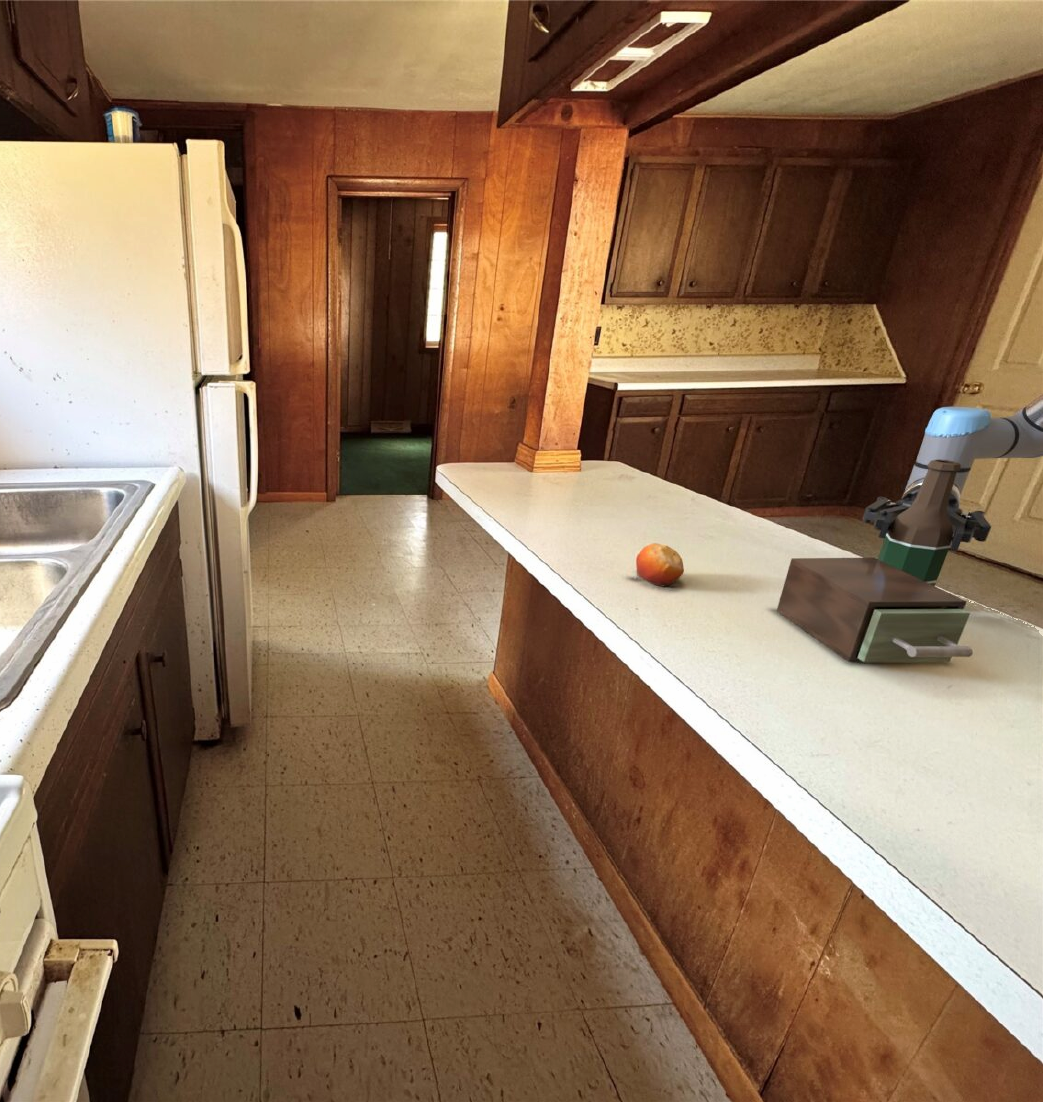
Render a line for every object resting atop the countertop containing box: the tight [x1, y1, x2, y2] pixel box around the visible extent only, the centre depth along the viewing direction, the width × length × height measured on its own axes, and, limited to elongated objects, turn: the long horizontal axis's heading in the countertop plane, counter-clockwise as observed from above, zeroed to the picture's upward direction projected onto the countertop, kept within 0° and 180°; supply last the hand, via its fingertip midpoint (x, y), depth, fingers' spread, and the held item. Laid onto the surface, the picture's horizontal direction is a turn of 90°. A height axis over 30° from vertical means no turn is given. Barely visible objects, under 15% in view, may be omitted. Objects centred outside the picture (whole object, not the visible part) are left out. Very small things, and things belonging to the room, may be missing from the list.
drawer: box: [858, 607, 974, 663], centre depth 88 cm, size 19×11×8 cm, turn 177°
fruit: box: [633, 542, 685, 587], centre depth 112 cm, size 8×8×8 cm
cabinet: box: [776, 557, 967, 663], centre depth 92 cm, size 16×13×10 cm
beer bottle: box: [877, 459, 961, 587], centre depth 99 cm, size 8×8×24 cm
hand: (919, 536), depth 96 cm, fingers open, 8 cm apart
